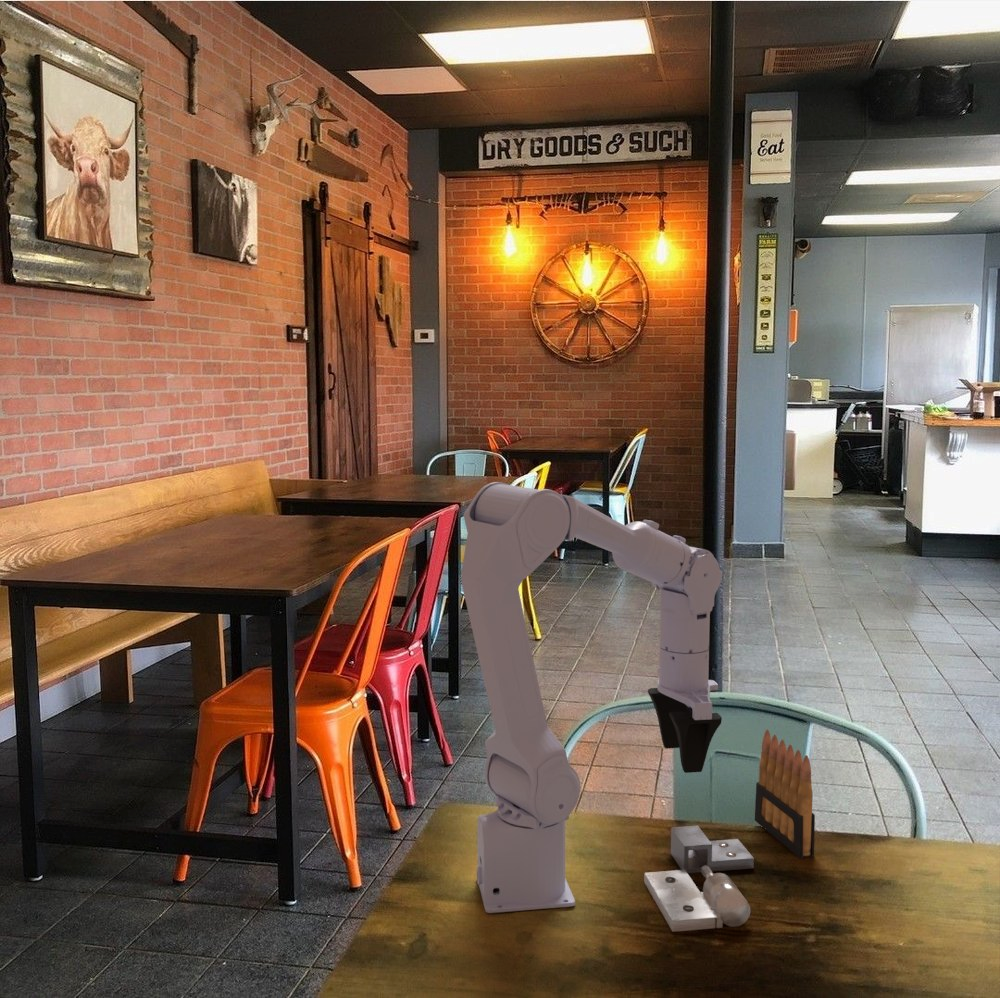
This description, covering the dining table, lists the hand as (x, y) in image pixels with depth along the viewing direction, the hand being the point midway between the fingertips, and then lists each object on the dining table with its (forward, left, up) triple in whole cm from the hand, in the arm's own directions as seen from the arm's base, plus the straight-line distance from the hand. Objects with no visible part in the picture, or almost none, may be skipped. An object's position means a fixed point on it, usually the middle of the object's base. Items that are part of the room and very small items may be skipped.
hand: (682, 758), depth 121 cm
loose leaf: (+2, -6, -10) cm, 12 cm away
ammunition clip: (+12, -2, -10) cm, 16 cm away
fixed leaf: (-3, -15, -10) cm, 18 cm away
